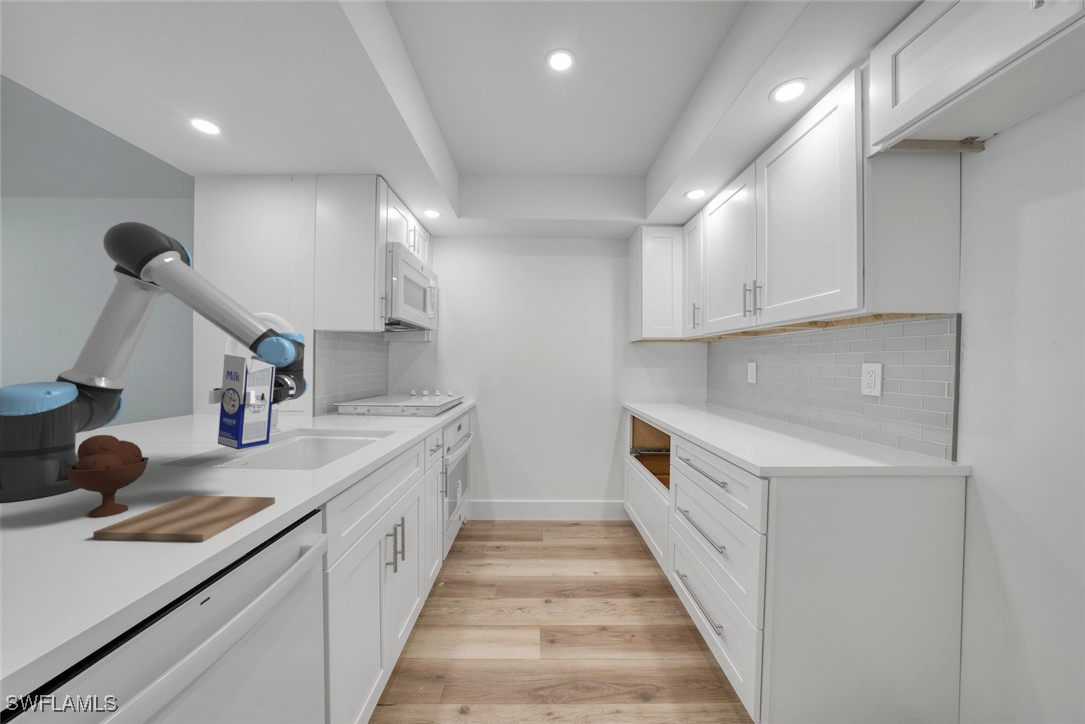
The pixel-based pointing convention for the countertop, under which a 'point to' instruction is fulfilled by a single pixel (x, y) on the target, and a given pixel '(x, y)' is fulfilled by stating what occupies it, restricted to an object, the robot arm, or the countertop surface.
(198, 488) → the countertop surface
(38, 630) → the countertop surface
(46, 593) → the countertop surface
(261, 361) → the milk carton
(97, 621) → the countertop surface
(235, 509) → the walnut board
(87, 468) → the ice cream bowl
